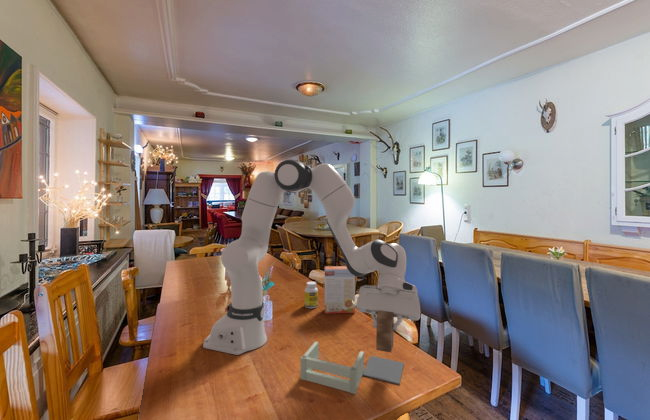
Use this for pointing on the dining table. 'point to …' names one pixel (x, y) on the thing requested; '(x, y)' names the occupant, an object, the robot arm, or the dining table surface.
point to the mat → (384, 369)
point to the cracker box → (339, 290)
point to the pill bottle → (311, 295)
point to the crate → (331, 371)
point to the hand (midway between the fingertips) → (384, 328)
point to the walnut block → (384, 331)
